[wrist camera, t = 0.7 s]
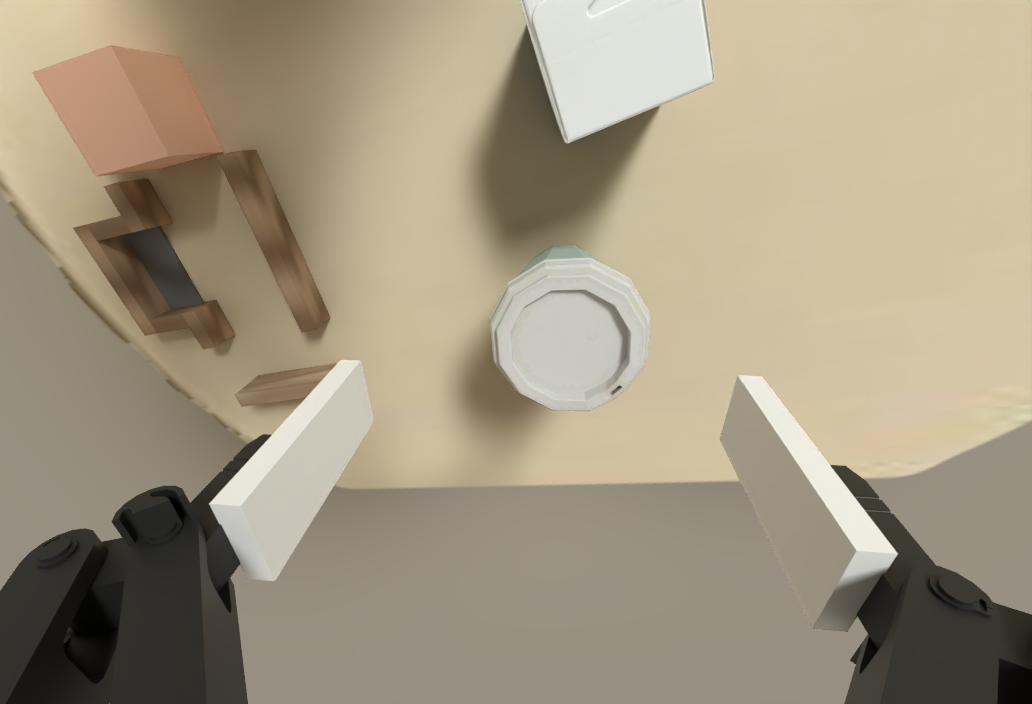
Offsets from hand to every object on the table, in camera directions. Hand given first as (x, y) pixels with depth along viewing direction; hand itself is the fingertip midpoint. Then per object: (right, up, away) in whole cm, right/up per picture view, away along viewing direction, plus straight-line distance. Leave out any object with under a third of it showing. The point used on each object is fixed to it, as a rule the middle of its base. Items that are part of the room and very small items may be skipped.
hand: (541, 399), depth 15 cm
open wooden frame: (-30, +8, +28) cm, 42 cm away
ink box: (+5, +24, +17) cm, 29 cm away
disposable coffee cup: (+4, +9, +24) cm, 26 cm away
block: (-31, +22, +21) cm, 43 cm away
